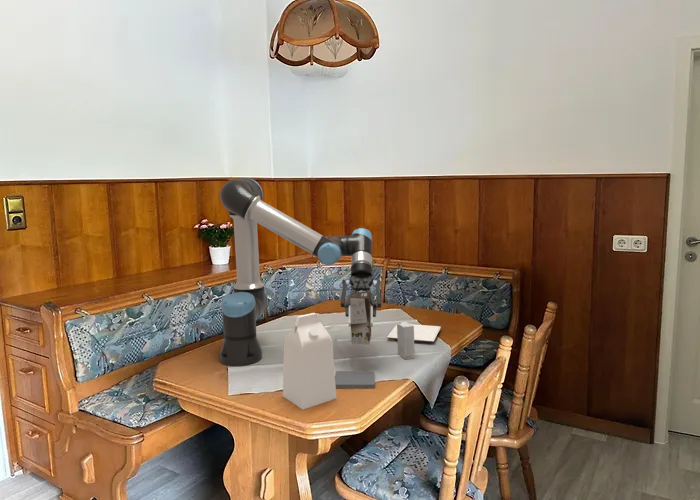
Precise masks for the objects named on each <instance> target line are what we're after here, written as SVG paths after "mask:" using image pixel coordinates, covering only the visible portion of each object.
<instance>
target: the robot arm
mask: <svg viewBox="0 0 700 500" xmlns="http://www.w3.org/2000/svg"><path fill="white" fill-rule="evenodd" d="M263 195H264V192H263V189H262V187H261V185H260V184H259V183H258V182H257V181H256V180H254V179H252V178H248V177H241V178H236V179H231V180H229V181H228V180H227V182H226V183H224V185H222V187H221V189H220V193H219V196H220V201H221V202H220V203H221V204H222V205H223V207H224V208H225V209H226V210H227V211H228V215H229V217H230V218H231V219H232V220H233V232H234V249H235V250H234V251H235V268H236V269H235V270H236V282H235V284H234V285H233V292H232V293H229V294H227V295H226V296H224V297H223V299H222V301H221V312H222V313H221V315H222V326H223V327H222V328H223V329H222V330H223V342H222V344H221V349H220V354H219V361H220V363H221V364H224V365H225V366H231V367H232V366H235V367H237V366H239V367H240V366H247V365H252V364H254V363H257V362H259V361H261V359H262V358H263V350H262V346H261V345H260V342H259V339H258V337H257V320H258V319H259V318H260V317H261V316H262V315H263V314H264V313H265V311H266V310H267V308H268V303H269V299H268V297H269V296H268V295H267V292H266V291H265V284H264V282H262V281H261V277H260V259H259V258H260V257H259V256H260V255H259V252H260V251H259V237H258V236H259V235H258V225H260V226H262V227H264V228H265V229H267V230H269V231H271V232H273V233H274V234H275V235H277V236H279V237H281V238H283V239H285V240H286V241H288V242H290V243H292V244H294V245H295V246H297V247H298V248H301V249H302V250H303V251H306V252H308V253H309V254H311V255H312V256H314V257H316V258H318V260H319V261H320V263H322V265H326V266H332V265H334V264H336V263H337V262H338V261H340V259H341V257H350V256H351V258H350V259H351V261H350V263H351V265H350V266H351V267H350V277H349V279H344V278H343V279H342V280H341V282H342V283H341V285H342V290H341V297H340V302H339V303H340V307H341V308H344V309H345V317H348V323H347V324H348V327H349V328H351V312H350V297H351V295H352V293H354V292H370V303H371V319H370V327H371V328H373V326H374V323H373V322H374V321H373V319H374V318H377V317H376V316H377V309H379V308H380V309H381V308H382V296H381V288H380V287H381V283H382V281H381V280H380V279H377V280H375V279H374V277H373V234H372V232H371V231H370V230H369V229H367V228H365V227H364V228H363V227H361V228H360V227H359V228H357V229H354V230H353V232H352V233H351V235H343V236H341V235H339V236H337V235H336V236H330V235H329V236H324V235H323V234H320V233H319V232H317V231H315V230H313V228H310V227H308V226H307V225H305V224H303V223H302V222H300V221H298V220H296V219H295V218H293V217H291V216H289V215H287V214H286V213H284V212H283V211H281V210H279V209H277V208H275V207H274V206H272V205H271V204H268V203H267V202H264V200H263V198H264V196H263ZM349 284H350V285H351V287H352V289H351V291H350V293H349V295H348V298H347V300H346V297H347V288H348V287H349ZM372 285H374V286H373V287H375V294H376V299H375V297H374V296H373V293H372V290H371V286H372Z"/></svg>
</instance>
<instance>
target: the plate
mask: <svg viewBox="0 0 700 500" xmlns="http://www.w3.org/2000/svg"><path fill="white" fill-rule="evenodd" d="M410 324H411V325H413V326H414V343H415V342H417V343H418V342H419V343H426V344H427V343H434V342H435V340H436V338H437V335H438V333H439V332H440V331H441V327H442V326H438V325H425V324H415V323H414V324H413V323H410ZM386 338H387V339H390V340H395V341H398V339H397V323H396V324H395V325H394V327H393V328H392V329H391V331H390V332H389V334H388V335H387V336H386Z"/></svg>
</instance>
